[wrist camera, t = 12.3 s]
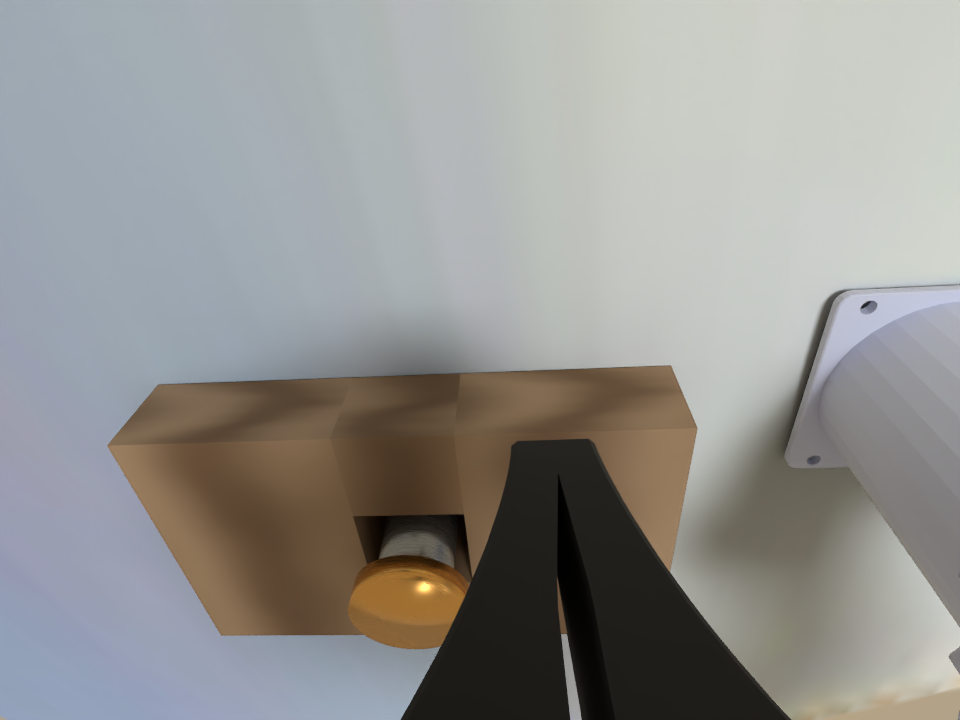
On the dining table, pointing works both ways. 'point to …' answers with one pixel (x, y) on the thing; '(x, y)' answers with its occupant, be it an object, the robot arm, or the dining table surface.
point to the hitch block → (376, 474)
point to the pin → (410, 584)
